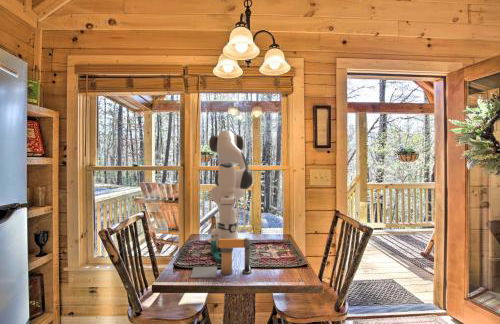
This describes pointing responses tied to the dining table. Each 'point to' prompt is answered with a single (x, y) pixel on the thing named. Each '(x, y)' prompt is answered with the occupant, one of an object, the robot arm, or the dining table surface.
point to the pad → (203, 272)
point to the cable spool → (226, 261)
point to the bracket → (216, 251)
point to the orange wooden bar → (234, 243)
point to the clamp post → (247, 262)
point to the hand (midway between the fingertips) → (226, 226)
